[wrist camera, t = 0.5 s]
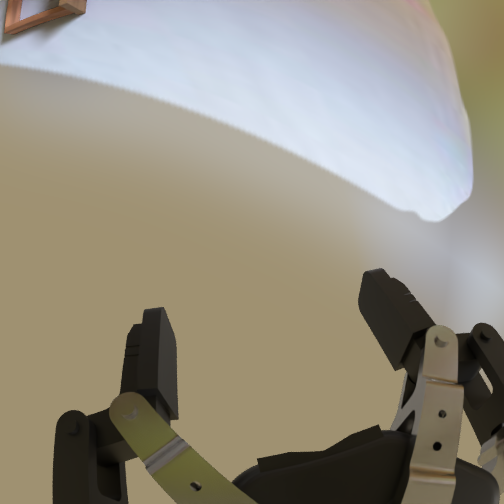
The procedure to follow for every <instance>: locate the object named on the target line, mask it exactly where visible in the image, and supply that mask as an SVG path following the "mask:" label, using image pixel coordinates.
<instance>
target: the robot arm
mask: <svg viewBox="0 0 504 504" xmlns="http://www.w3.org/2000/svg"><path fill="white" fill-rule="evenodd" d="M358 305H359V309H360V312H361V314H362V315H363V317H364V319H365V320H366V322H367V324H368V326H369V327H370V329H371V331H372V332H373V334H374V336H375V337H376V339H377V340H378V342H379V344H380V346H381V347H382V349H383V351H384V353H385V354H386V356H387V358H388V360H389V361H390V363H391V365H392V367H393V368H394V370H395V371H396V370H399V369H401V368H405V370H406V371H407V372H406V374H405V377H404V382H403V387H402V392H401V397H400V402H399V406H398V410H397V414H396V416H395V419H394V421H393V423H392V425H391V428H390V430H382V431H381V429H380V427H379V425H376V426H373V427H371V428H368V429H365V430H362V431H360V432H357V433H354V434H351V435H350V436H348V437H346V438H345V439H343V440H342V441H340V442H338V443H336V444H335V445H333V446H331V447H330V448H328V449H326V450H324V451H315V452H287V453H283V454H278V455H273V456H268V457H263V458H258V459H257V461H258V465H255V466H253V467H251V468H249V469H247V470H246V471H244V472H243V473H241V474H240V475H239V476H237V477H236V478H235V479H234V480H233V481H232V482H230V481H229V480H227V479H226V478H225V477H224V476H223V475H221V474H220V473H219V472H218V471H217V470H216V469H215V468H213V467H212V466H211V465H210V464H209V463H208V462H207V461H206V460H205V459H204V458H202V457H201V456H200V455H199V454H198V453H197V452H196V451H195V450H194V449H193V448H192V447H191V446H190V445H189V444H188V443H187V442H185V441H184V440H183V439H181V437H180V436H179V435H178V434H177V433H175V431H174V430H173V429H172V428H171V427H170V420H178V398H177V397H178V396H177V347H176V340H175V336H174V332H173V330H172V327H171V324H170V322H169V319H168V317H167V314H166V311H165V309H164V307H159V308H152V309H145V310H144V313H143V321H142V324H134V325H133V327H132V328H131V330H130V332H129V333H128V335H127V341H126V349H125V358H124V364H123V371H122V380H121V389H120V394H119V396H117V397H116V398H115V399H114V400H113V401H112V403H111V405H110V407H109V408H108V409H106V410H103V411H100V412H97V413H95V414H91V415H88V416H86V415H84V414H83V413H82V412H80V411H76V410H71V411H68V412H66V413H64V414H63V415H62V416H61V417H60V418H59V420H58V422H57V425H56V433H55V444H54V458H53V460H54V461H53V504H128V495H127V485H126V471H125V461H127V460H130V459H133V458H136V457H139V458H140V459H141V460H142V462H143V463H144V464H145V466H146V470H147V471H148V472H149V474H150V475H151V476H152V477H153V479H154V480H155V481H156V482H157V483H158V484H159V485H160V486H161V487H162V488H163V490H164V491H165V492H166V493H167V494H168V495H169V496H170V497H171V498H172V499H173V500H174V501H175V502H176V503H177V504H499V500H500V495H501V494H502V493H503V492H504V341H503V339H502V338H501V337H500V335H499V334H498V332H497V331H496V330H495V329H494V328H493V327H492V326H491V325H488V324H486V323H478V324H476V325H475V326H474V327H473V329H472V331H471V333H461V334H455V333H454V332H453V331H452V330H451V329H449V328H448V327H446V326H442V325H436V324H435V323H434V322H433V320H432V319H431V318H430V317H429V315H428V314H427V312H426V311H425V310H424V309H423V307H422V306H421V305H420V303H419V302H418V301H416V298H415V297H414V296H413V295H412V294H411V292H410V291H409V290H408V288H407V287H406V286H405V285H404V284H403V283H402V282H400V281H399V280H397V279H395V278H390V277H389V275H388V274H387V273H386V272H385V270H384V269H382V268H379V269H375V270H370V271H366V272H364V274H363V278H362V283H361V288H360V293H359V298H358ZM481 368H482V369H483V370H484V372H485V374H486V375H487V377H488V379H489V380H490V382H491V384H492V386H493V393H492V394H491V392H490V390H489V389H488V387H487V385H486V383H485V382H484V380H483V378H482V376H481V375H480V373H479V371H480V369H481ZM463 409H464V411H465V413H466V415H467V417H468V419H469V421H470V423H471V425H472V427H473V429H474V432H475V434H476V436H477V438H478V440H479V442H480V445H481V452H480V456H479V457H478V464H479V465H480V466H482V468H480V467H478V466H475V465H473V464H471V463H468V462H466V461H464V460H462V459H459V458H457V452H458V445H459V438H460V430H461V422H462V412H463Z"/></svg>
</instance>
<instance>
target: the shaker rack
mask: <svg viewBox="0 0 504 504" xmlns="http://www.w3.org/2000/svg"><path fill="white" fill-rule="evenodd" d="M86 2H87V0H59V7H55V8H52V9H50V10H47V11H44V12H41V13H39V14H36V15H33V16H31V17H28V18H26V19H23V20H21V21H20V13H21V6H22V0H9V1H8V7H7V14H6V22H5V31H4V33H7V34H16V33H18V32H21V31H23V30H26V29H28V28H31V27H33V26H36V25H39V24H41V23H44V22H47V21H50V20H53V19H56V18H59V17H62V16H66V15H69V14H73V13H75V14H77V15H80V14H84V13H85V12H86Z"/></svg>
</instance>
